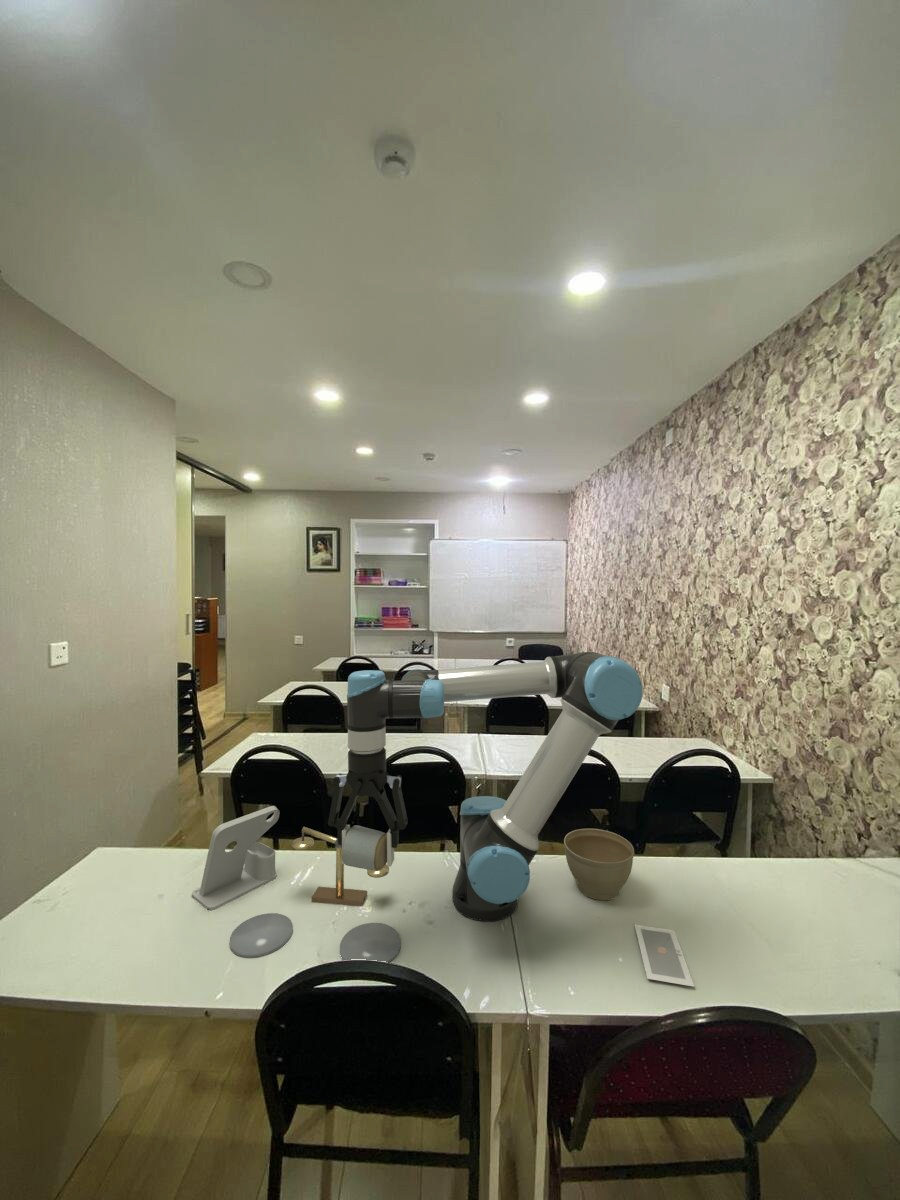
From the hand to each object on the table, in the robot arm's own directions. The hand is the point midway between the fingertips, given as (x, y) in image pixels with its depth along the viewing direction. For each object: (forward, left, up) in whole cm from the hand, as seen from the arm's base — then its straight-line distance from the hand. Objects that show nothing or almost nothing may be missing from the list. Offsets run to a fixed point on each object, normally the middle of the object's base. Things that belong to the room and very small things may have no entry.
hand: (368, 861), depth 95 cm
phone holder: (+37, -15, -17) cm, 44 cm away
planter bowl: (-50, -26, -17) cm, 58 cm away
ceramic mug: (0, -1, -1) cm, 2 cm away
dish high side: (+22, 0, -17) cm, 28 cm away
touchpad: (-58, -5, -18) cm, 61 cm away
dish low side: (-1, 0, -17) cm, 17 cm away
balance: (+11, -14, -17) cm, 24 cm away
